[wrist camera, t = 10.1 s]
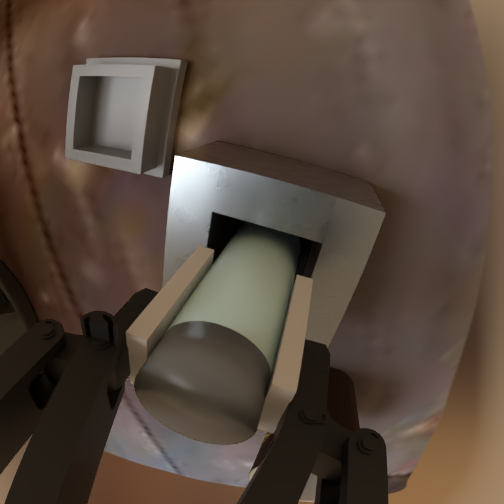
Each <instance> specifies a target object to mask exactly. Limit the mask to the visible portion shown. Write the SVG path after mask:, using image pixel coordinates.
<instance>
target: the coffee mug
mask: <svg viewBox="0 0 504 504" xmlns="http://www.w3.org/2000/svg"><path fill="white" fill-rule="evenodd" d="M327 410H328V412H329V415H330V416H331V418H332V419H333V420H334V421H335V422H336V423H338V424H339V425H341V426H343V427H345V428H347V429H348V430H350V431H352V432H354V431H356V430H358V429H360V427H359V419H358V412H357V405H356V398H355V391H354V385H353V382H352V380H351V379H350V377H349V376H348V375H346V374H345V373H344V372H342V371H340V370H337V369H334V368H331V367H329V382H328V395H327ZM275 431H276V430H275ZM275 431H274V433H270V432H267V433H266V436H265V438H264V441H263V443H262V445H261V448H260V450H259V453H258V455H257V457H256V460H255V462H254V464H253V466H252V469H251V471H250V473H249V479H250V480H251V479H252V477H253V475H254V473H255V471H256V470H257V468H258V466H259V464H260V462H261V461H262V459H263V457H264V455H265V452H266V450H267V449H268V447H269V445H270V444H271V442H272V440H273V439H274V436H275ZM316 485H317V476H316V475H314V474H312V473H311V474H310V477H309V479H308V481H307V484H306V486H305V488H304V491H303V493H302V495H301V498H300V500H299V501H302V502H315V494H316Z"/></svg>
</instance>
